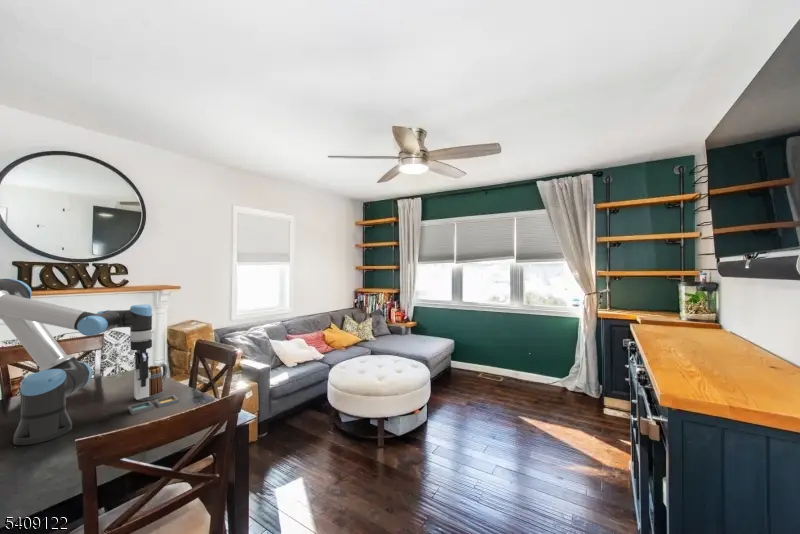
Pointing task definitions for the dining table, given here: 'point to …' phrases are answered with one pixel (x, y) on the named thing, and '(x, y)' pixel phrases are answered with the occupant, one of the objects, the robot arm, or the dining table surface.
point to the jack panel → (149, 406)
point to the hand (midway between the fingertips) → (141, 391)
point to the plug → (136, 385)
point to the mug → (156, 382)
